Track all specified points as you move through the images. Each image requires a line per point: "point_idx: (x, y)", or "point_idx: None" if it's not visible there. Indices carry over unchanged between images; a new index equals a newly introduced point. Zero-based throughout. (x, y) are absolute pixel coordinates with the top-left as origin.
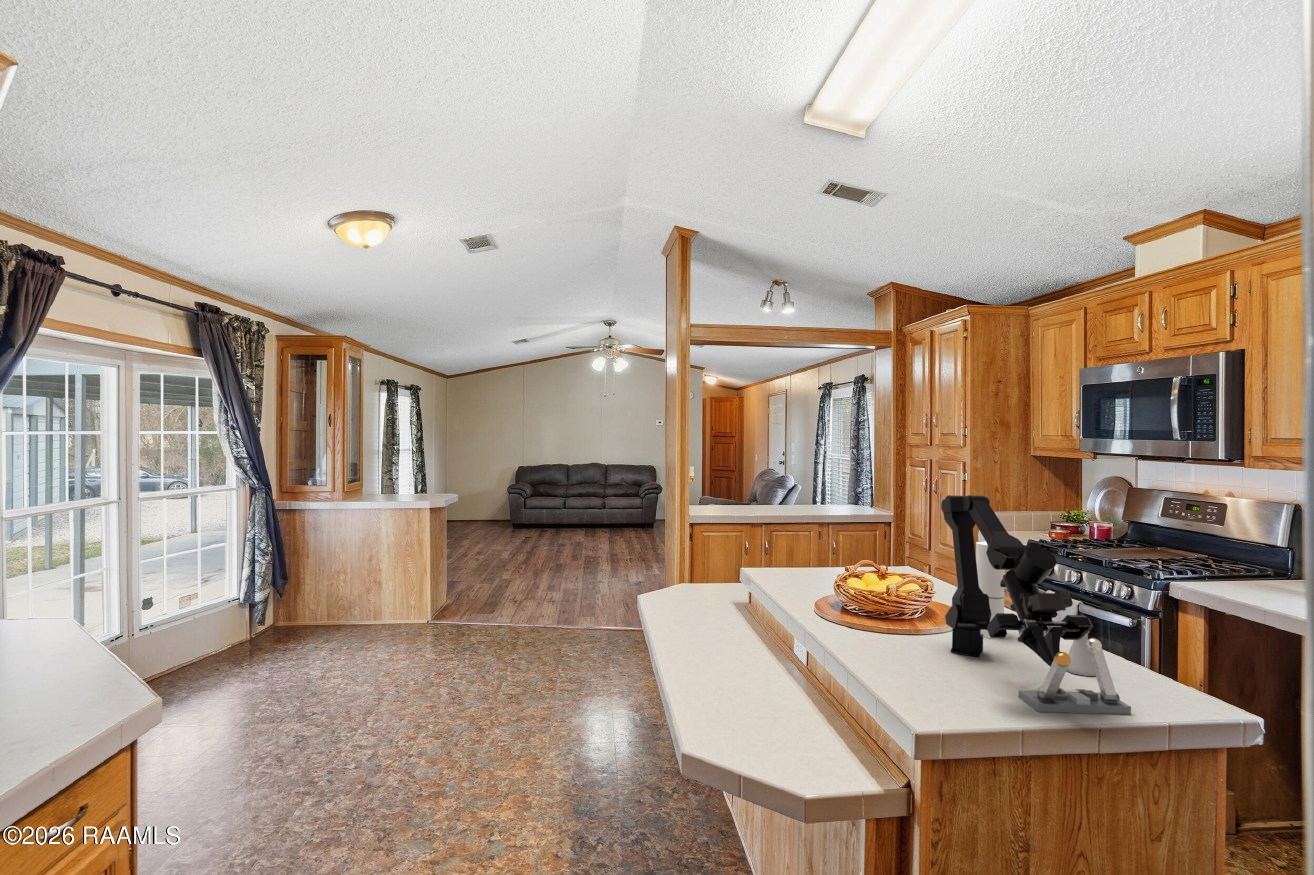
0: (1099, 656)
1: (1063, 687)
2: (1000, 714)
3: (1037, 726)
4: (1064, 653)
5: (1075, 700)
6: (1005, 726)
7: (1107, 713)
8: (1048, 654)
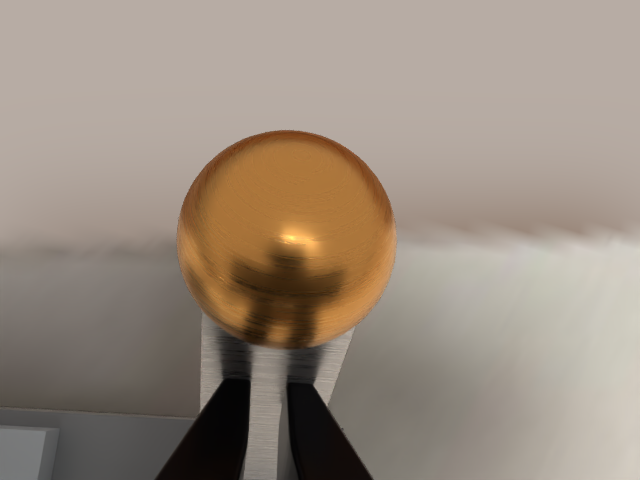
0: None
1: None
2: (576, 390)
3: (455, 238)
4: (293, 172)
5: (51, 446)
6: (615, 245)
7: None
8: (354, 472)
